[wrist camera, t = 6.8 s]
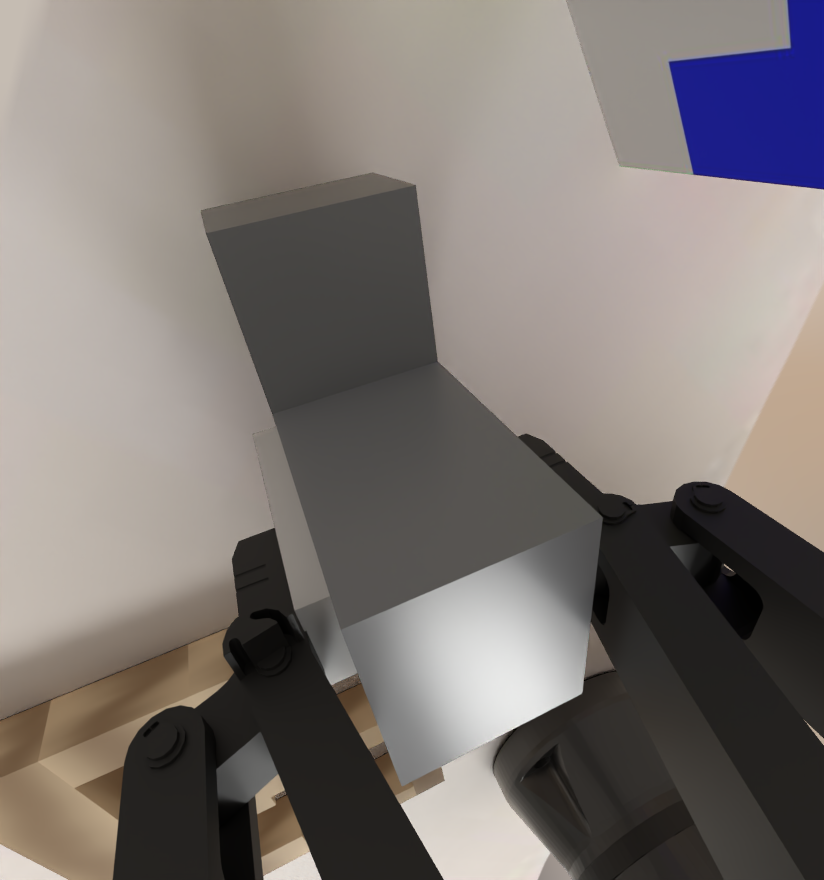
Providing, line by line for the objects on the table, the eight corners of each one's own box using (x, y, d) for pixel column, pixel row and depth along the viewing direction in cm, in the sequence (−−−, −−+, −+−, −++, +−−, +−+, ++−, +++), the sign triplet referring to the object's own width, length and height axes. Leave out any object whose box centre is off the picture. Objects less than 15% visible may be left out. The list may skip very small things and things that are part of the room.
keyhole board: (381, 565, 24) (399, 606, 22) (429, 743, 35) (444, 780, 33) (-45, 739, 20) (-70, 807, 18) (163, 877, 31) (162, 928, 29)
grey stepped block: (351, 166, 14) (634, 249, 6) (416, 511, 23) (573, 770, 14) (198, 199, 14) (237, 362, 5) (323, 547, 22) (426, 851, 13)
